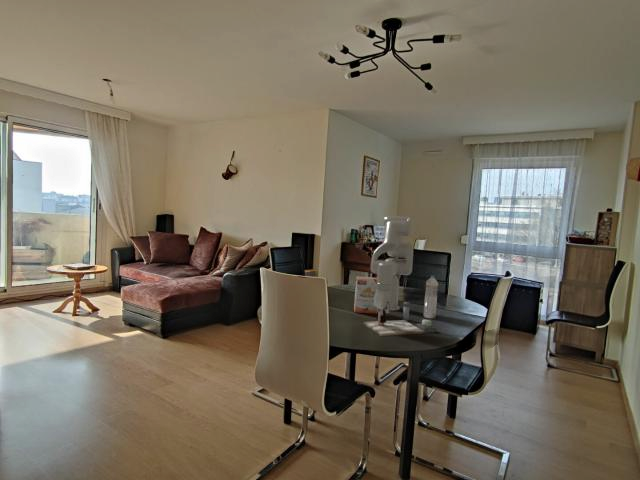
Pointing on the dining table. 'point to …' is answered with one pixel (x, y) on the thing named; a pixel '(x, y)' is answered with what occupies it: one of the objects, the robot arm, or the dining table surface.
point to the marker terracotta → (379, 318)
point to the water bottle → (430, 298)
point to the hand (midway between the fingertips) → (381, 321)
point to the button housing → (426, 328)
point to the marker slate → (406, 311)
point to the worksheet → (394, 328)
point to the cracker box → (365, 295)
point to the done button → (426, 323)
